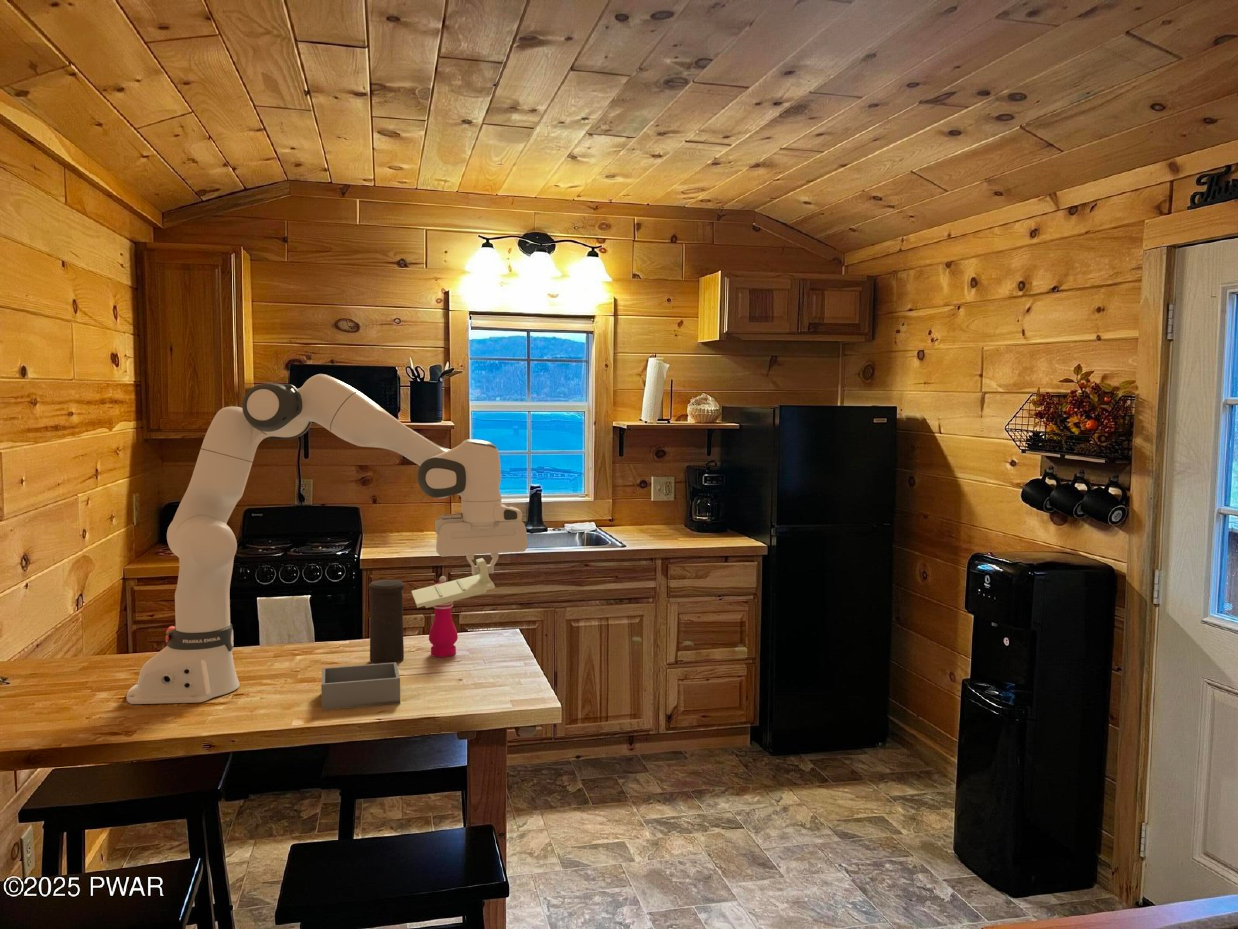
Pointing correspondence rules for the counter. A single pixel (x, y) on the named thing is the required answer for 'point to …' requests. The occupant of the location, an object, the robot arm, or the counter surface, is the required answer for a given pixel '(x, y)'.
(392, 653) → the container
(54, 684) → the counter surface
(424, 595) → the lid
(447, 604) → the pepper mill
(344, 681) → the tub
